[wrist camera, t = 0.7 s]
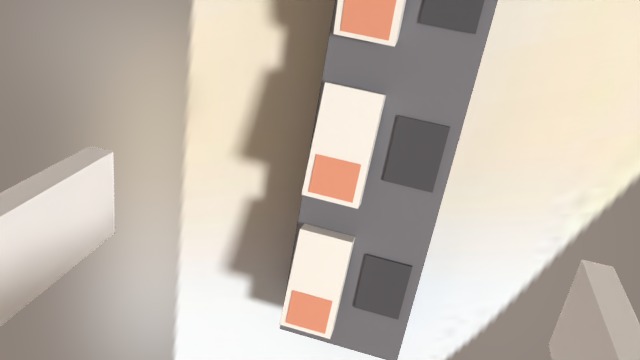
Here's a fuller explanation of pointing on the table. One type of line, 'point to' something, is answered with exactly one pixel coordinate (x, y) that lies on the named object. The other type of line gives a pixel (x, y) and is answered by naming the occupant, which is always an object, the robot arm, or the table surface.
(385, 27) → the block
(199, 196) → the table surface
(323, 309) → the block
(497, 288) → the table surface
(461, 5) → the strip
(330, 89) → the block
